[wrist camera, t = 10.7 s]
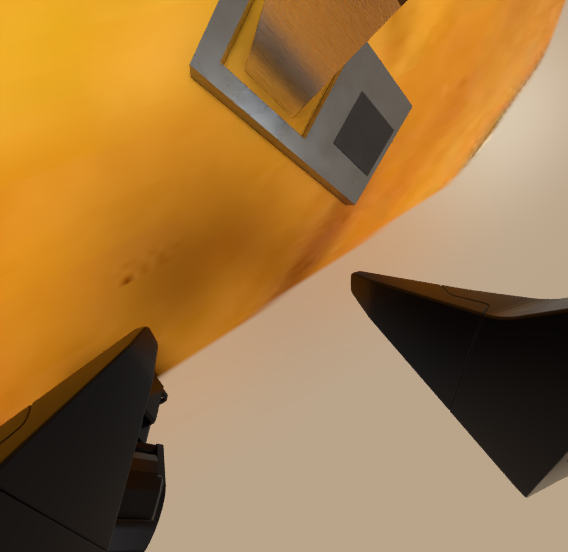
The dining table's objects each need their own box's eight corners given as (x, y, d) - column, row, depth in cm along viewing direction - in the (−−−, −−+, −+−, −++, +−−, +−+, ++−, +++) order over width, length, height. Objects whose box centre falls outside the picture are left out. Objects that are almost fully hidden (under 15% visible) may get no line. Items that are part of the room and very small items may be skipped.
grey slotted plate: (346, 204, 23) (355, 204, 22) (191, 76, 16) (189, 63, 14) (400, 112, 22) (413, 105, 21) (260, -74, 15) (266, -105, 13)
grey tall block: (293, 117, 19) (419, -13, 8) (244, 70, 17) (323, -204, 6) (321, 65, 18) (499, -153, 7) (275, 10, 16) (430, -424, 5)
